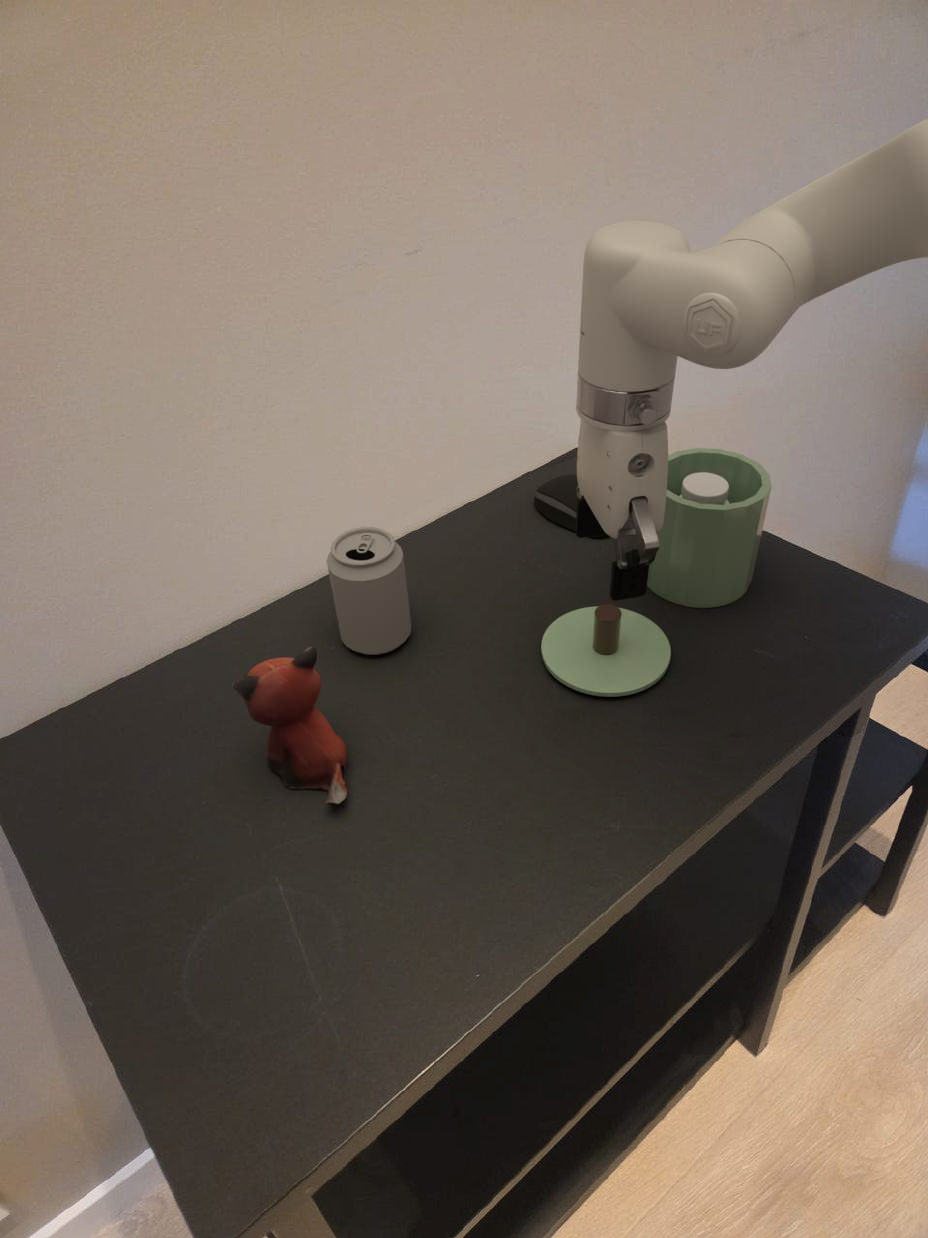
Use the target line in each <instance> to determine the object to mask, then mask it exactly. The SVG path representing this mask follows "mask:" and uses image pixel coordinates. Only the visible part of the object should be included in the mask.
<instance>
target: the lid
mask: <svg viewBox="0 0 928 1238" xmlns="http://www.w3.org/2000/svg"><path fill="white" fill-rule="evenodd" d="M541 638H542V639H541V641H540V642H541V644H540V645H541V646H540V653H541V658H542V661H543V663H544V666H545V668H546V669H547V671H548V672H549V673H550V674H551V675H552V676H553V677H554V679H556V680H557V681H558V682H560V684H562V685H564V686H566V687H568V688H569V689H572V690H574V691H576V692H579V693H582V694H585V695H590V696H595V697H605V698H612V697H613V698H614V697H615V698H616V697H624V696H630V695H634V694H637V693H641V692H643V691H645V690H648V689H649V688H651V687H652V686H654V685H655V684H657V683H658V682H659V681H660V680H661V679H662V678H663V677H664V675H665V674H666V673H667V670H668V669H669V666H670V663H671V658H672V657H671V656H672V651H671V650H672V649H671V644H670V641H669V639H668V637H667V635H666V634H665V632H664V631H663V630H662V628H660V626H659V625H657V624H656V623H655V622H654V621H652V620H651V619H649V618H648V617H646V616H645V615H642V614H640V613H638V612H635V611H633V610H630V609H626V608H622V607H618V606H616V605H615V604H609V603H605V604H601V605H597V606H596V605H595V606H586V607H582V608H578V609H577V608H576V609H574V610H571V611H569V612H567V613H564V614H563V615H561V616H559V617H558V618H557V619H555V620H554V621H553V622H551V624H550V625H549V626H548V627H547V628H546V630H545V631H544V634H543V635H542V637H541Z"/></svg>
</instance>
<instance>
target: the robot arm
mask: <svg viewBox="0 0 928 1238" xmlns="http://www.w3.org/2000/svg"><path fill="white" fill-rule="evenodd" d="M923 258H928V117H927V118H925V119H923V120H922V121H919V122H918V123H915V124H914V125H913V126H910V127H909V128H907V129H905V130H903V131H902V132H899V134H897V135H896V136H895V137H893V138H892V139H890V140H889V141H887V142H885V143H883V144H881V145H879V146H878V147H876V148H873V149H871V150H870V151H867V152H866V153H863V154H862V155H860V156H858V157H856V158H854V159H851V161H849V162H846V163H845V164H843V165H841V166H839V167H838V168H835V169H834V170H832V171H830V172H828V173H826V174H825V175H823V176H821V177H819V178H817V179H815V180H814V181H812V182H811V183H809V184H807V185H804V186H803V187H801V188H799V189H798V190H796V191H794V192H792V193H790V194H788V195H787V196H785V197H783V198H781V199H779V200H777V201H776V202H775V203H773V204H771V205H769V206H767V207H766V208H763V209H761V210H760V211H758V212H757V213H755V214H753V215H752V216H749V217H748V218H746V219H745V220H744V221H742V222H741V223H739V224H738V225H736V226H735V227H733V228H732V229H731V230H730V231H729V232H727V233H726V234H724V235H723V236H722V237H721V238H720V239H719V240H718V241H717V242H716V243H715V244H713V246H711V247H707V248H704V249H702V250H698V251H695V252H691V246H690V243H689V240H688V239H687V237H686V235H685V234H684V233H683V232H682V231H681V230H679V229H678V228H676V227H675V226H672V225H669V224H666V223H663V222H657V221H650V220H626V221H620V222H619V221H618V222H614V223H611V224H608V225H605V226H602V227H600V228H599V229H598V230H596V231H595V232H594V233H592V235H591V236H590V237H589V238H588V240H587V243H586V246H585V249H584V254H583V264H582V265H583V267H582V283H581V284H582V285H581V303H580V321H579V322H580V324H579V341H578V342H579V343H578V360H577V362H578V363H577V364H578V365H577V380H576V381H577V383H576V400H575V411H576V414H577V416H578V417H579V418H580V422H579V423H580V424H579V429H578V430H579V431H578V439H577V441H578V442H577V454H576V475H577V481H578V487H577V495H578V498H579V499H582V498H583V500H577V515H576V532H575V534H576V536H577V537H578V538H579V539H583V538H589V537H590V536H597V535H603V534H608V535H609V536H608V537H610V538H612V539H613V546H614V551H615V552H614V553H615V557H616V560H615V561H612V562H611V572H610V583H609V594H608V595H609V598H610V599H611V601H613V602H617V601H622V600H629V599H633V598H640V597H644V596H645V595H646V593H647V588H648V586H647V580H648V573H649V565H650V564H652V562H653V561H654V560H655V557H656V553H657V551H658V549H659V547H660V543H659V539H658V536H657V533H656V532H660V531H661V529H662V527H663V522H664V514H665V504H666V492H667V477H668V455H669V435H668V425H667V423H666V421H667V420H668V419H669V417H670V415H671V410H672V402H673V396H674V395H673V394H674V386H675V379H676V372H677V364H678V358H681V359H684V360H686V361H689V362H691V363H693V364H696V365H699V366H701V367H705V368H711V369H715V370H731V369H736V368H740V367H743V366H745V365H747V364H749V363H751V362H753V361H754V360H756V359H757V358H758V357H759V356H761V354H762V353H764V352H765V350H766V349H767V348H768V347H769V346H770V345H771V344H772V342H773V341H774V339H775V338H777V336H778V335H779V333H780V332H781V331H782V330H783V329H784V327H785V325H786V324H787V323H788V322H789V321H790V319H791V318H792V317H793V316H794V314H795V313H796V312H797V311H798V310H799V309H800V308H801V307H802V306H803V305H806V304H808V303H809V302H811V301H813V300H815V299H817V298H819V297H821V296H824V295H826V294H827V293H828V294H829V293H830V292H833V291H834V290H836V289H838V288H840V287H842V286H845V285H847V284H849V283H852V282H854V281H856V280H858V279H860V278H862V277H865V276H867V275H869V274H871V273H875V272H877V271H879V270H881V269H885V268H887V267H891V266H894V265H896V264H899V263H902V262H907V261H911V260H916V259H923ZM627 522H631V523H632V525H633V527H632V528H625V529H624V526H625V525H626V523H627ZM635 536H636V539H637V543H636V545H635V547H636V548H635V549H630V550H629V551H626V549H627V548H626V544H625V538H627V537H635ZM590 538H591V537H590Z"/></svg>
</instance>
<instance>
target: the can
mask: <svg viewBox="0 0 928 1238" xmlns="http://www.w3.org/2000/svg"><path fill="white" fill-rule="evenodd" d="M326 567H327V571H328V577H329V582H330V587H331V592H332V597H333V602H334V603H333V604H334V608H335V613H336V619H337V623H338V628H339V634H340V639H341V642H343V643H342V644H344V645H345V646H346V647H347V648H348V649H350V650H351V651H353V652H356V653H359V654H363V655H367V656H379V655H383V654H384V655H385V654H387V653H390V652H392V651H394V650H395V649H397V648H399V647H400V646H401V645H403V644H404V643H405V642H406V641H407V639H408V638H409V637H410V635H411V632H412V618H411V611H410V609H411V608H410V601H409V593H408V585H407V583H408V582H407V577H406V576H407V575H406V566H405V558H404V553H403V550H402V547H401V545H399V544H398V543H397V541H395V538H394V536H393V535H392V533H390V532H389V531H387V530H385V529H383V528H380V527H375V526H361V527H355V528H352V529H349V530H346V531H344V532H343V533H341V534H340V535H338V536H336V538H335V539H334V540H333V541H332V543H331V546H330V551H329V553H328V555H327V557H326Z"/></svg>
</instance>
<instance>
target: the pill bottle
mask: <svg viewBox="0 0 928 1238" xmlns="http://www.w3.org/2000/svg"><path fill="white" fill-rule="evenodd" d="M728 490H729V484H728V482H727V481H726V480H725V479H724V478H723V477H721V476H719V475H716V474H712V473H705V472H700V473H693V474H690V475H688V476H687V477H686V478H685V479H684V480H683V483H682V489H681V495H680V496H679V497H681V498H683V499H686V500H690V501H694V502H697V503H701V504H716V505H725V504H730V503H729V502H728V501H727V495H728Z"/></svg>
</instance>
